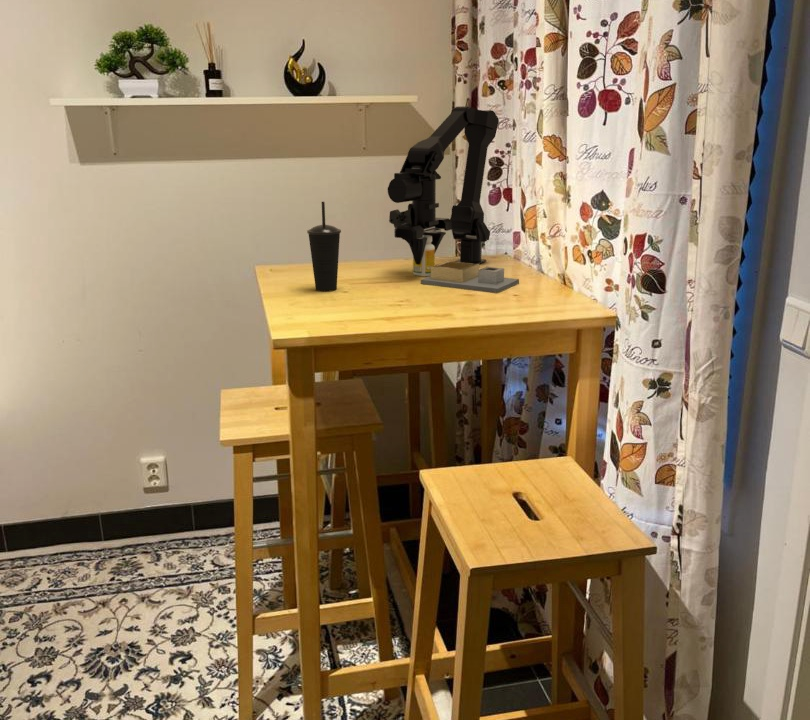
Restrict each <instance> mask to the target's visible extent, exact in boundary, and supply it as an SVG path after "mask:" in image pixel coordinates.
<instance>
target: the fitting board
mask: <svg viewBox="0 0 810 720" xmlns="http://www.w3.org/2000/svg"><path fill="white" fill-rule="evenodd" d="M420 284H421V285H428V286H435V287H436V286H437V287H443V288H444V287H445V288H452V289H461V290H467V291H469V290H470V291H476V292H477V291H478V292H485V293H492V294H493V293H494V294H499V293H501V292H503V291H505V290H508V289H509V288H512V287H514V286H516V285H519V284H520V279H519V278H512V277H504V281H503V282H501V283H498V284H496V285H495V284H486V283H478V277H476V278H474V279H471V280H469V281H466V282H463V283H460V282H451V281H443V280H434V279H431V276H426V277H424V278H422V279H420Z"/></svg>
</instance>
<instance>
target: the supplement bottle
mask: <svg viewBox="0 0 810 720" xmlns="http://www.w3.org/2000/svg"><path fill="white" fill-rule="evenodd" d="M423 237H427V242H426V246H425V249H424V253H423V257H422V261H421V264H420V265H418V264H416V263H415V260H414V257H413V256H412V259H413V260H412V267H413V268H412V273H413V275H414V276H416V277H430V276H431V266H434V265H436V264H435V259H436V258H435V257H436V256H435V255H436V252H435V247H434V245H433V244H431V242H432V236H430V235H423Z"/></svg>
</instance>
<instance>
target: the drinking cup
mask: <svg viewBox="0 0 810 720" xmlns="http://www.w3.org/2000/svg"><path fill="white" fill-rule="evenodd" d="M325 205H326V203H325V201H321V222H322V223H321V224H319V225H314V226H312V228H308V230H306V231H307V232H306V233H307V235H308V239H309V240H308V241H309V247H310V248H309V249H310V255H311V261H312V271H313V272H312V273H313V278H314V279H313V280H314V285H315V287H314V288H315V291H318V292H334V291H336V290H337V288H338V270H339V253H340V252H339V251H340V238H341V237H340V236H341V235H340V234H341V233H342V229H340V228H338V227H335V226H333V225H329V224H326V207H325Z"/></svg>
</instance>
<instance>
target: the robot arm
mask: <svg viewBox="0 0 810 720" xmlns="http://www.w3.org/2000/svg"><path fill="white" fill-rule="evenodd" d="M498 126H499V117H498V115H497V114H496V112H495V111H494V110H490V109H489V110H482V109H477V108H474V107H471V106H470V105H468V106H464V105H462V106H460V105H459V106H455V107H453V108H452V110H451V112H450V113H449V115H448V116H447V117H446V118H445V119H444V120H443V121H442V122H441V124H440V125H439V126H438V127H437V128H436V129H435V130H434V131H433V133H431V135H430V136H429V137H427V138H425V139H423V140H420V141H418V142H416V143H415V144H414V145H413V146H411V147H410V148H409V150H408V152H407V155H406V158H405V160H404V161H403V165H402V166H401V169H400V171H399V172H395V173H394V174H393V176H394V177H393V178H392V179H391V180H390V181H389V184H388V186H387V194H388V197H389V198H390V199H389V200H390V201H392V202H393V203H396V204H399V203H406V202H411V203H408V205H407V209H406V210H405V211H400V210H399V209H393V210H390V211H389V220H388V221H389V223H390V224H392V225H393V228H394V233H393V234H394V238H398V239H401V240H404V241H405V242H406V243H408V245H409V248H410V250H411V253H412V258H413V257H414V260H415V263H416V264H418V265H420V264H421V261H422V257H423V253H424V249H425V246H426V242H427V237H423V235H430V236H432V242H431V244H433V245H434V247H435V253H437V250H438V248H439V246H440V244H441V242H442V240H443V238H444V237H445V235H446V232H447V231H451V233H452V237H453V240H460V243H459V245H460V247H459V248H460V251H459V253H460V254H459V257H460V258H459V259H457V260H455V261H454V262H464V263H473V264H479V265H480V264H482V263H485V262H487V259H484V258H482V251H483V250H482V247H483V244H482V243H484V242H487V241H489V240H490V235H491V230H490V229H489V227H487V224H486V223H485V221H484V220H485V219H484V218H485V213H484V210H483V207H482V204H481V197H482V195H481V194H482V188H483V181H484V174H485V168H486V161H487V156H488V155H487V154H488V148H489V146H490V144H491V143H492V142H493V141H494V139H495V137H496V135H497V130H498ZM463 130H464V131H463ZM462 131H463V132H464V136H465V139H466V141H467V144H468V148H467V153H466V155H467V156H466V162H465V169H464V175H463V183H462V189H461V197H460V198H461V199H460V201H459V202H458V204H457V205H452V207H451V214H450V215H451V216H450V218H448V217H436V215H437V214H436V212H437V211H436V210H437V208H439V207H440V203H439V202H437V201H436V198H437V197H436V195H437V194H436V189H437V188H436V185H437V183H436V182H437V181H436V180H441V179H442V177H441V175H440V174H439V172H437V170H438V169H439V168H440V167H439V166H441V164H442V162H443V160H444V158H445V151H446V150H447V149H448V147H449V146H450V145H451V144H452V143H453V142H454V140H455V139H456V138H457V137H458V136H459V135H460V133H461V132H462ZM442 230H444V231H442Z"/></svg>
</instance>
